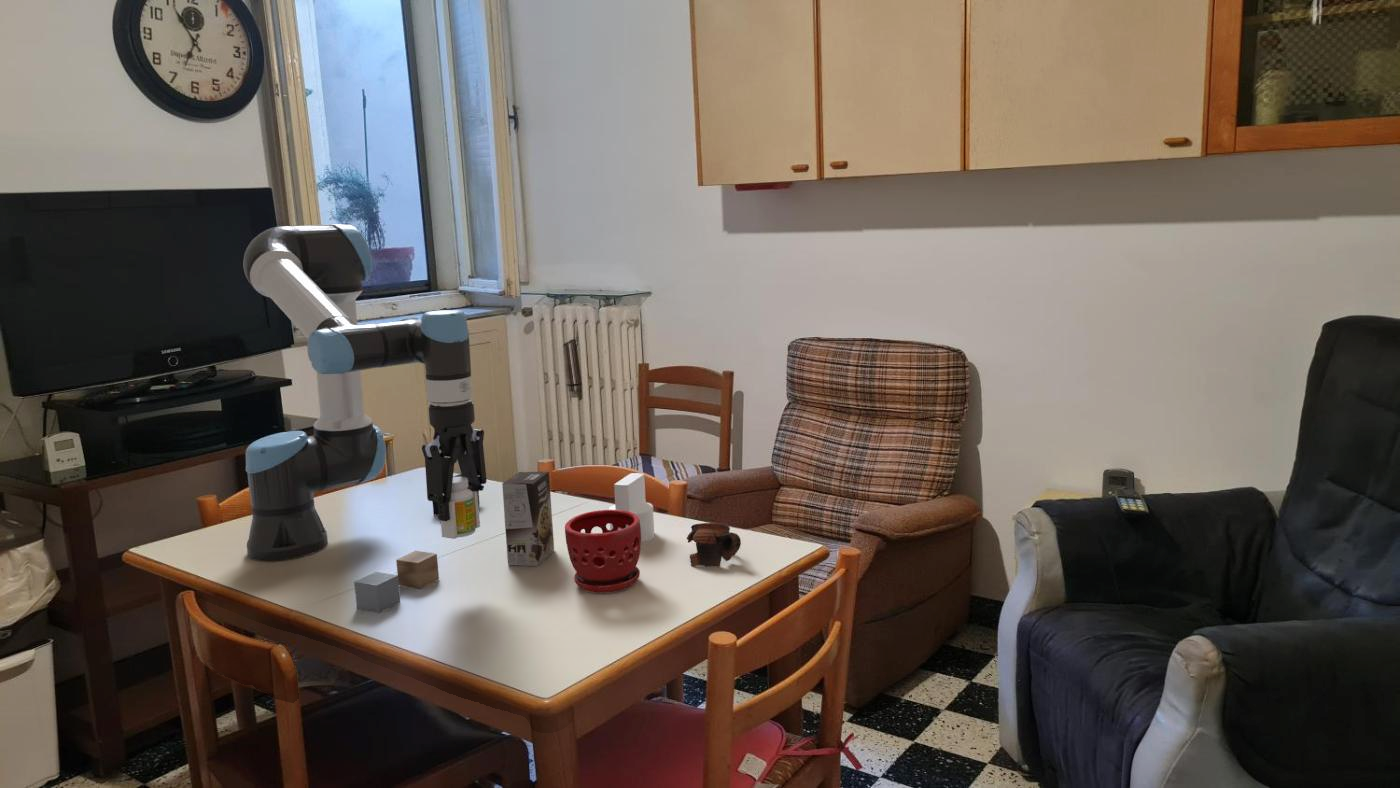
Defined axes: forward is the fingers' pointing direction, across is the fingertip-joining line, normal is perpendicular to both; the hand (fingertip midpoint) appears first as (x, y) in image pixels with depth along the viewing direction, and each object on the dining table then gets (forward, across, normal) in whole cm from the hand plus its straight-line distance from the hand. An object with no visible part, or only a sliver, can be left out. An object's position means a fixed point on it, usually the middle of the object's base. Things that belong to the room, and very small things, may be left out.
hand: (461, 531), depth 168 cm
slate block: (+11, -11, +10) cm, 18 cm away
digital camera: (+12, +39, +34) cm, 53 cm away
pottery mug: (+11, +29, -35) cm, 47 cm away
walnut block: (+11, 0, +11) cm, 15 cm away
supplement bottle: (+1, 0, 0) cm, 1 cm away
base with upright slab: (+11, +36, -13) cm, 40 cm away
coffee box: (+11, +18, -1) cm, 21 cm away
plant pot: (+11, +11, -22) cm, 27 cm away
